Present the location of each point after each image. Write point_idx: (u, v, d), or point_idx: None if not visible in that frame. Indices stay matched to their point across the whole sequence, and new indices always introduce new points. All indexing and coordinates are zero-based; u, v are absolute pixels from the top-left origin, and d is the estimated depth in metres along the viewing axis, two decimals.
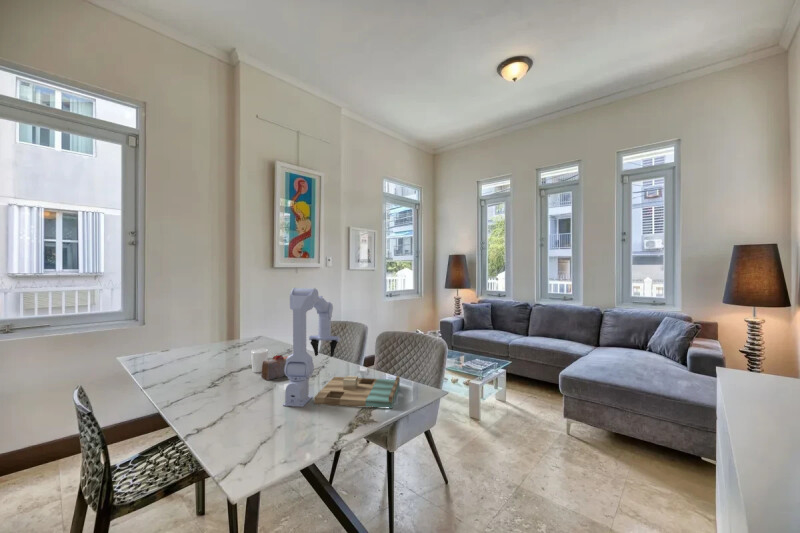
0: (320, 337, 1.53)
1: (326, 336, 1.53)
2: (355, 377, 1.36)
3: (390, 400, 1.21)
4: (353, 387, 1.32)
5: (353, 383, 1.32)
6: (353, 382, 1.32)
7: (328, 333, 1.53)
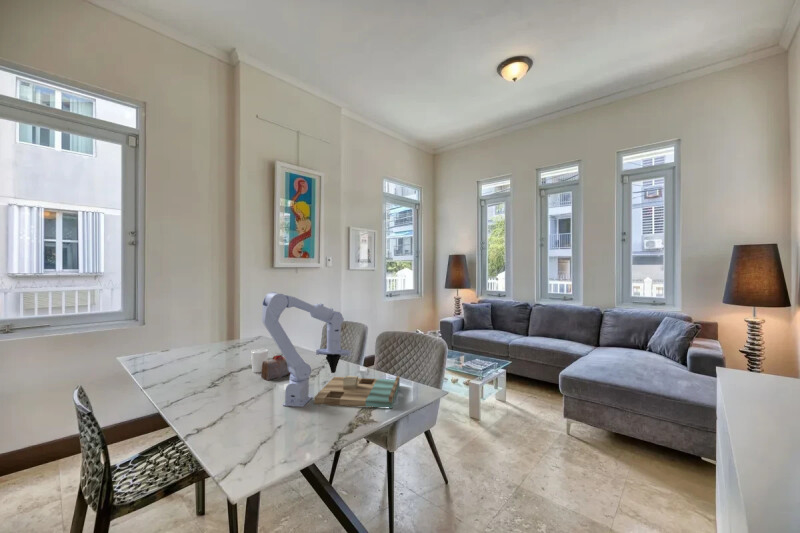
0: (329, 351, 1.33)
1: (336, 350, 1.34)
2: (355, 377, 1.36)
3: (390, 400, 1.21)
4: (353, 387, 1.32)
5: (353, 383, 1.32)
6: (353, 382, 1.32)
7: (338, 347, 1.34)
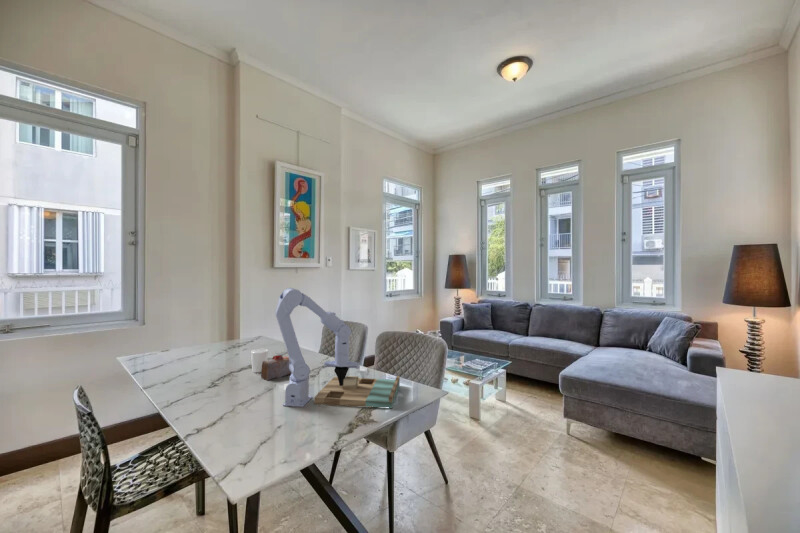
0: (337, 364, 1.33)
1: (344, 363, 1.33)
2: (355, 377, 1.36)
3: (390, 400, 1.21)
4: (353, 387, 1.32)
5: (353, 383, 1.32)
6: (353, 382, 1.32)
7: (346, 359, 1.34)
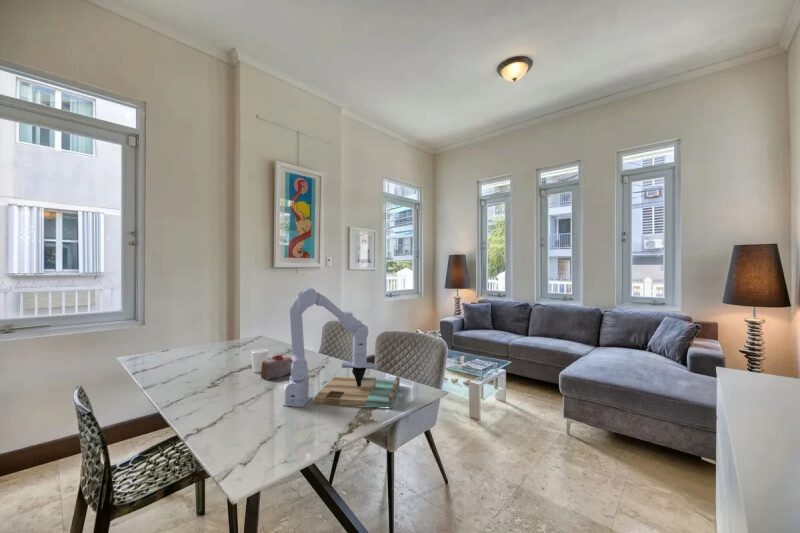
0: (355, 365, 1.32)
1: (362, 364, 1.32)
2: (373, 378, 1.35)
3: (390, 400, 1.21)
4: (371, 388, 1.32)
5: (371, 384, 1.32)
6: (371, 383, 1.32)
7: (364, 360, 1.33)
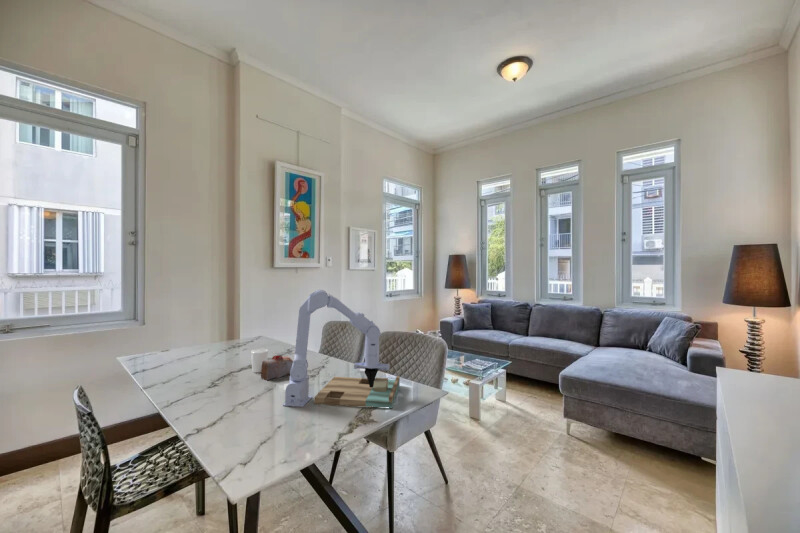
0: (368, 366, 1.31)
1: (374, 364, 1.32)
2: (385, 379, 1.34)
3: (390, 400, 1.21)
4: (384, 389, 1.31)
5: (384, 385, 1.31)
6: (384, 384, 1.31)
7: (377, 361, 1.32)
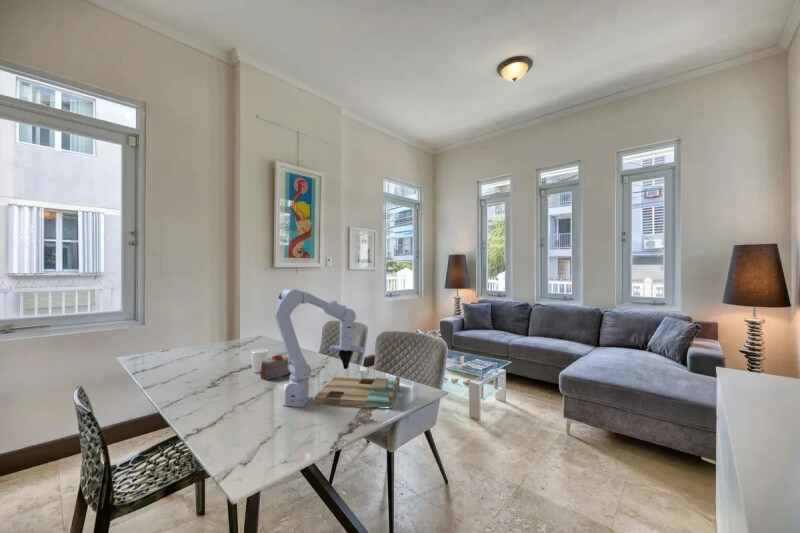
0: (342, 348, 1.36)
1: (348, 347, 1.36)
2: (385, 379, 1.34)
3: (390, 400, 1.21)
4: (384, 389, 1.31)
5: (384, 385, 1.31)
6: (384, 384, 1.31)
7: (351, 343, 1.37)
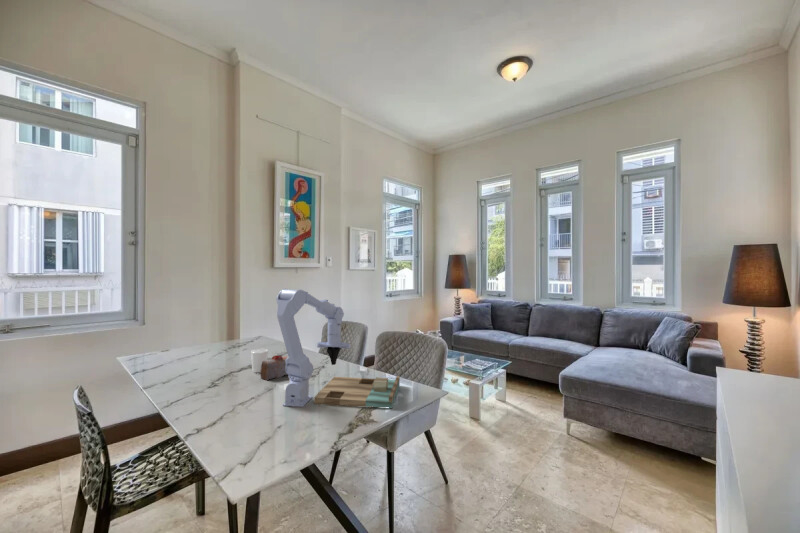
0: (329, 344, 1.42)
1: (336, 343, 1.42)
2: (385, 379, 1.34)
3: (390, 400, 1.21)
4: (384, 389, 1.31)
5: (384, 385, 1.31)
6: (384, 384, 1.31)
7: (338, 340, 1.43)
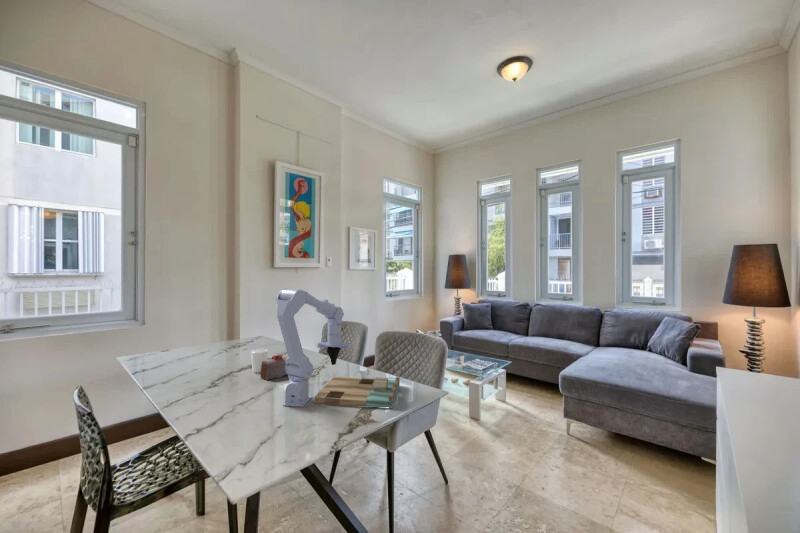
0: (329, 344, 1.42)
1: (336, 343, 1.42)
2: (385, 379, 1.34)
3: (390, 400, 1.21)
4: (384, 389, 1.31)
5: (384, 385, 1.31)
6: (384, 384, 1.31)
7: (338, 340, 1.43)
